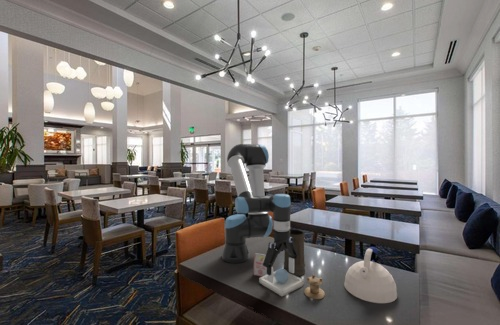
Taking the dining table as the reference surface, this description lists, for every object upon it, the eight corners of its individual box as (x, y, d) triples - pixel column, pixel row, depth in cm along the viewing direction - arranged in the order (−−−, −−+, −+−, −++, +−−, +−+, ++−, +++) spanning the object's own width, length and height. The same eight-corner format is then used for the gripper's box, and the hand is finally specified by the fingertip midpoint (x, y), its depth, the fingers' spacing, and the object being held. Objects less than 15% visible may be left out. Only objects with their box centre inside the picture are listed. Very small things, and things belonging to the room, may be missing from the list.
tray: (259, 282, 110) (259, 277, 110) (280, 273, 118) (280, 268, 118) (282, 296, 99) (282, 291, 99) (303, 285, 108) (303, 280, 108)
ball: (271, 281, 109) (271, 268, 109) (281, 277, 113) (281, 264, 113) (281, 287, 104) (281, 273, 104) (291, 282, 108) (291, 269, 108)
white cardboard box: (256, 271, 120) (256, 251, 120) (269, 274, 117) (269, 253, 117) (253, 274, 117) (253, 254, 117) (266, 277, 114) (266, 256, 114)
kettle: (337, 291, 103) (337, 249, 102) (352, 273, 119) (353, 236, 118) (391, 311, 90) (392, 262, 89) (401, 288, 106) (402, 246, 105)
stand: (305, 298, 97) (306, 282, 97) (303, 287, 105) (303, 272, 105) (326, 299, 97) (326, 283, 96) (322, 288, 105) (322, 273, 104)
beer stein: (305, 277, 114) (306, 234, 115) (282, 275, 116) (283, 233, 117) (304, 265, 129) (305, 227, 130) (284, 263, 131) (285, 226, 132)
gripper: (266, 237, 97) (266, 289, 98) (306, 226, 113) (305, 271, 114) (254, 232, 103) (254, 282, 104) (293, 222, 119) (293, 265, 119)
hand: (281, 276), depth 109 cm, fingers open, 13 cm apart
